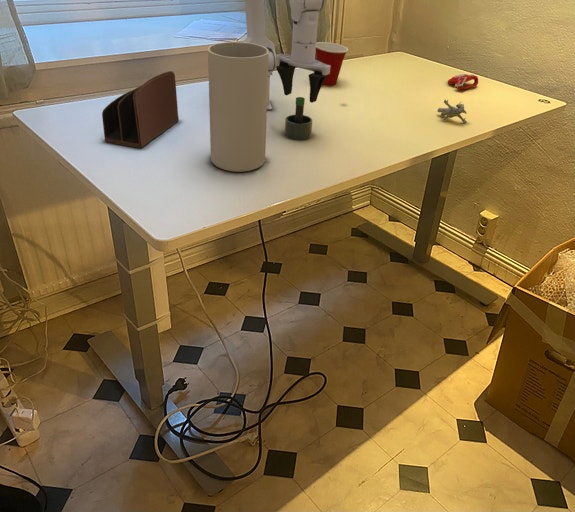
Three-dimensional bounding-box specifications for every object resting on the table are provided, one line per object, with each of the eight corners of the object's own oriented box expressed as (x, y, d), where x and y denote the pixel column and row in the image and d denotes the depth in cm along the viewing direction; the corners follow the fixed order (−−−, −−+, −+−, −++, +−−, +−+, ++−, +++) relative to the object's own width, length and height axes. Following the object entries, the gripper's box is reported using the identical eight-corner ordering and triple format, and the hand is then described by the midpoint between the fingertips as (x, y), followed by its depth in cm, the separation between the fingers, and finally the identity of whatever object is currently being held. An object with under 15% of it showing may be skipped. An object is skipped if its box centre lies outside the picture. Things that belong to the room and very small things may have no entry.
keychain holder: (442, 77, 188) (470, 70, 188) (443, 90, 190) (471, 83, 190) (456, 79, 177) (486, 72, 177) (458, 93, 179) (487, 86, 179)
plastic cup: (345, 89, 176) (350, 50, 169) (311, 87, 175) (314, 48, 169) (343, 79, 185) (347, 42, 178) (311, 77, 184) (313, 40, 178)
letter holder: (179, 121, 147) (176, 67, 139) (141, 149, 131) (135, 90, 123) (145, 115, 149) (140, 61, 141) (104, 142, 133) (96, 83, 125)
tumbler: (287, 140, 140) (288, 124, 137) (282, 130, 145) (283, 114, 143) (313, 139, 141) (314, 124, 139) (308, 129, 146) (309, 114, 144)
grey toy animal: (456, 114, 163) (477, 114, 154) (445, 131, 162) (466, 131, 154) (435, 92, 158) (455, 91, 150) (423, 110, 158) (443, 109, 150)
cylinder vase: (237, 145, 135) (237, 39, 121) (276, 161, 129) (281, 51, 115) (199, 160, 127) (195, 48, 113) (238, 178, 121) (239, 61, 107)
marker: (294, 134, 142) (296, 99, 137) (293, 131, 143) (295, 96, 138) (303, 134, 142) (305, 99, 137) (301, 130, 144) (303, 96, 139)
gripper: (339, 43, 130) (333, 100, 138) (288, 32, 136) (285, 87, 144) (323, 49, 125) (318, 107, 133) (271, 37, 131) (269, 93, 139)
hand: (300, 97), depth 138 cm, fingers open, 7 cm apart
